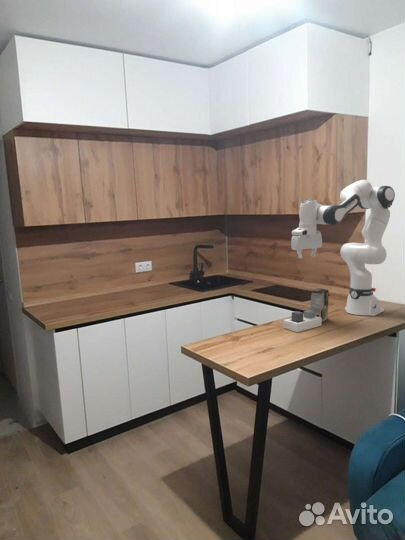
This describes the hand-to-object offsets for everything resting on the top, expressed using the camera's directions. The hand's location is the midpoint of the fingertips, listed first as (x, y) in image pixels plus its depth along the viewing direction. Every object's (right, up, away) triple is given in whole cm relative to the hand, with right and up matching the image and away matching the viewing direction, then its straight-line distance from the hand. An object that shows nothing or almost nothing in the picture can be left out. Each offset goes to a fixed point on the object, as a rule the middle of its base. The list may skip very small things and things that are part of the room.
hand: (306, 257), depth 215 cm
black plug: (-8, -35, -11) cm, 37 cm away
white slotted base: (-4, -35, -9) cm, 36 cm away
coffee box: (+7, -33, +3) cm, 34 cm away
